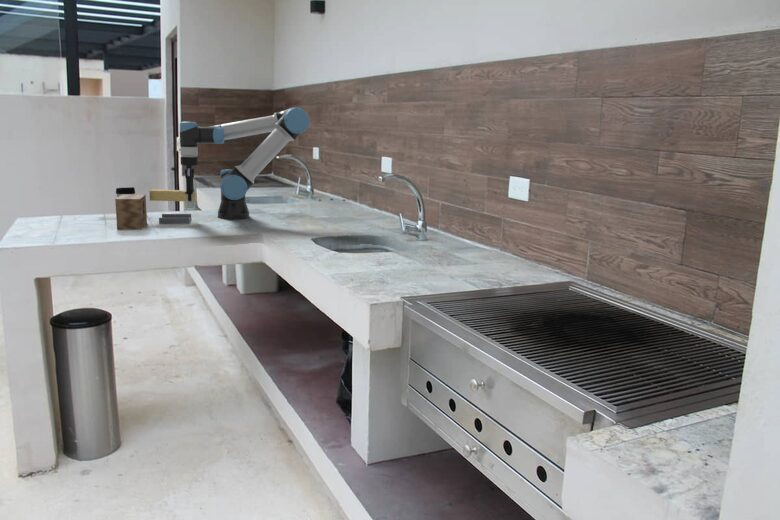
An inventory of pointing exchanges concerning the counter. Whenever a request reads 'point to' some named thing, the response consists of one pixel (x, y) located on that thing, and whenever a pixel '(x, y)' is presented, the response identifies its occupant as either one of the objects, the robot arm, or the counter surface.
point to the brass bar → (170, 195)
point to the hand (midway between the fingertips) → (190, 207)
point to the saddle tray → (175, 219)
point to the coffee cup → (125, 191)
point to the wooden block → (131, 211)
